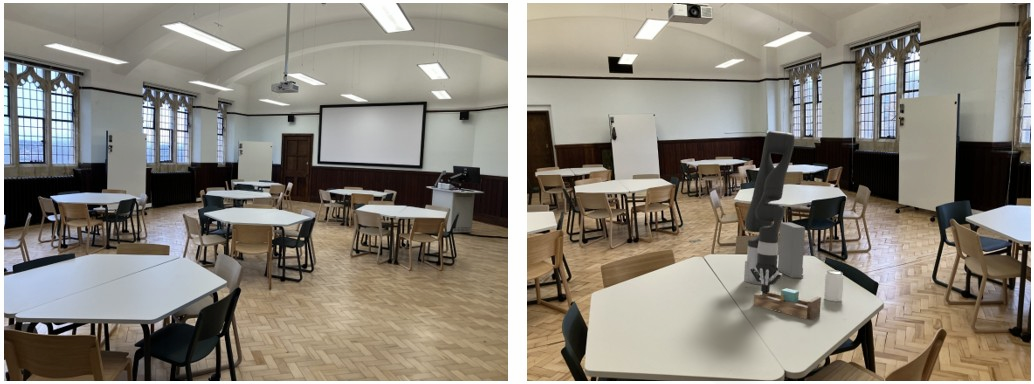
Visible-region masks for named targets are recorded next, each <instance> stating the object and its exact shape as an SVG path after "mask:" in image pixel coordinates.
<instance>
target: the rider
mask: <svg viewBox="0 0 1034 384" xmlns="http://www.w3.org/2000/svg"><path fill="white" fill-rule="evenodd" d="M780 294H783V295H784V300H785V301H789V302H793V303H797V304H798V298H799V294H800V292H799V290H797V289H792V288H787V287H786V288H784V289H781V291H780Z"/></svg>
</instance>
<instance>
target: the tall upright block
mask: <svg viewBox="0 0 1034 384" xmlns="http://www.w3.org/2000/svg"><path fill="white" fill-rule="evenodd" d="M805 233H806V227H805V226H802V225H799V224H796V223H793V222H781V225H780V228H779V238H778V259H777V268H778V271H779V272H780V273H782V274H783V275H786V276H787V277H789V278H791V279H793V278H794V279H795V278H796V279H797V278H798V279H799V278H800V279H802V278H804V275H803V273H804V266H803V265H804V251H805V250H804V249H805V235H806V234H805Z"/></svg>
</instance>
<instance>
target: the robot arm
mask: <svg viewBox="0 0 1034 384" xmlns="http://www.w3.org/2000/svg"><path fill="white" fill-rule="evenodd" d="M795 138H796V137H795V134H794V133H791V132H784V131H777V130H776V131H775V130H769V131H768V132H767V133H766V136H765V139H764V143H763V149H762V155H761V161H760V165H759V169H758V172H757V175H756V179H755V183H754V188H753V193H752V197H751V200H750V204H749V207H748V210H747V213H746V215H745V221H744V228H745V230H746V231H747V232H750V233H758V235H757V236H754V237H751V238H749V239H748V241H747V255H746V260H745V261H744V274H743V275H744V276H743V281H744V282H747V283H749V284H753V285H760V286H761V288H760V291H761V294H762V293H765V294H767V293H768V292H769V291H770V288H771V285H775V284H776V283H777V282H778V281H779V280H780V279H781V278H782V277H783V276H784V273H782V272H780V271H778V256H779V233H780V225H781V222H782V221H783V220H784V217H785V212H786V211H785V208H784V206H782V205H781V204H775V203H771V202H776V201H780V200H781V199H782V198H783V192H784V186H785V181H786V176H787V172H788V170H789V166H790V163H791V158H792V155H793V151H794V148H795V140H796V139H795ZM771 154H777V155H782V157H781V160H780V162H779V163H778V164H777V165H776V166H774V163H773V161H772V157H771ZM773 276H774V278H773ZM770 292H771V291H770Z"/></svg>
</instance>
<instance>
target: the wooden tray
mask: <svg viewBox="0 0 1034 384" xmlns="http://www.w3.org/2000/svg"><path fill="white" fill-rule="evenodd" d="M821 301H822V297H821V296H816V297H814V298H812V299H810V300H807V299H804V298H799V297H798V304H797V303H793V302H789V301H785V300H784V295H783V294H781V293H780V292H773V291H769V292H768V293H767V294H765V293H762V292H761V294H760V293H754V294H753V302H752V304H753V306H755V305H756V307H760V308H763V307H764V308H763V309H767V310H770V309H772V310H771V311H774V310H776V311H775V312H778V311H780V312H779V313H782V312H783V313H782V314H785V313H786V314H787V315H790V316H794V317H797V318H801V319H805V320H808V321H811V320H813V319H814V318H817V317H818V316H820V315H821V305H822V302H821ZM786 314H785V315H786Z"/></svg>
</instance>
